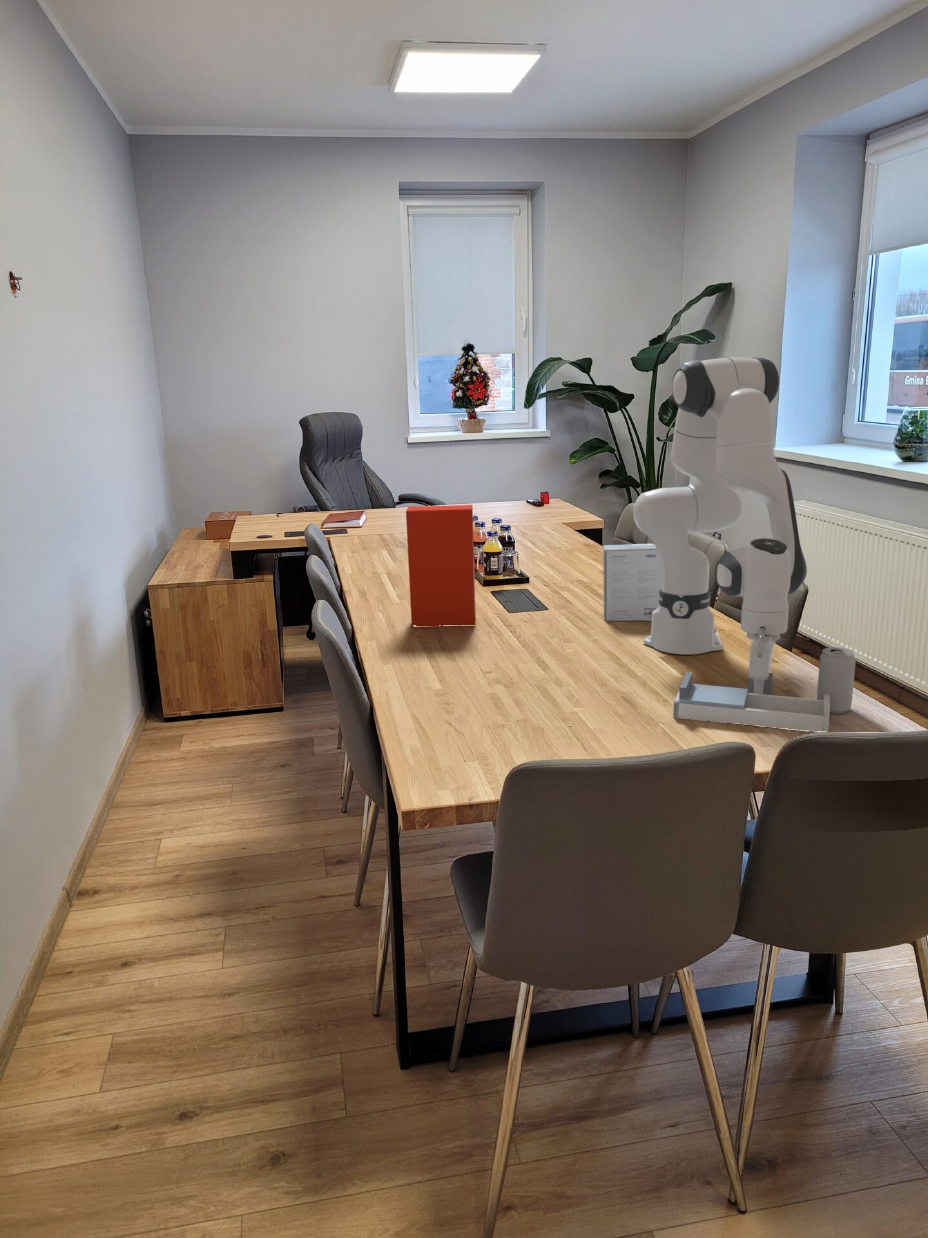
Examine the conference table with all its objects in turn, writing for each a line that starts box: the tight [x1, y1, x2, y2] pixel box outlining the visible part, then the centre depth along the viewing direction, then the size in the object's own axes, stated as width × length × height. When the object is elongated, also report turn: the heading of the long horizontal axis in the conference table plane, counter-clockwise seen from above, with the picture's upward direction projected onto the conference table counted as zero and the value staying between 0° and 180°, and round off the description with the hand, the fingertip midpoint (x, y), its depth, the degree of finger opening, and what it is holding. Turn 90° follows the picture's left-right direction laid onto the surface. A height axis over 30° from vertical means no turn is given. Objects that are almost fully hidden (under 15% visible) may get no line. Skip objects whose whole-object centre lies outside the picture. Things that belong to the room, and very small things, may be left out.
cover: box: [678, 671, 748, 709], centre depth 173 cm, size 10×12×3 cm
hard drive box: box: [602, 543, 661, 622], centre depth 240 cm, size 16×8×20 cm, turn 84°
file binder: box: [405, 504, 477, 626], centre depth 239 cm, size 8×17×32 cm, turn 88°
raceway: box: [672, 691, 831, 733], centre depth 171 cm, size 10×28×4 cm, turn 68°
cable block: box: [747, 672, 774, 695], centre depth 180 cm, size 4×4×5 cm
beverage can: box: [816, 647, 857, 715], centre depth 172 cm, size 6×6×12 cm
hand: (760, 686), depth 180 cm, fingers open, 8 cm apart
